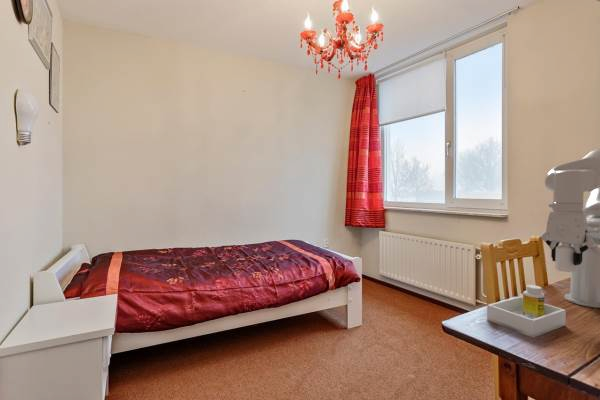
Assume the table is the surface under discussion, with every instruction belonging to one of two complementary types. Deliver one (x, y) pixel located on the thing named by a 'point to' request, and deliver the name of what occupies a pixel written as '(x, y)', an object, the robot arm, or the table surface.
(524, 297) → the supplement bottle
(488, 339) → the table surface
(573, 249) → the eye dropper bottle
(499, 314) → the box
